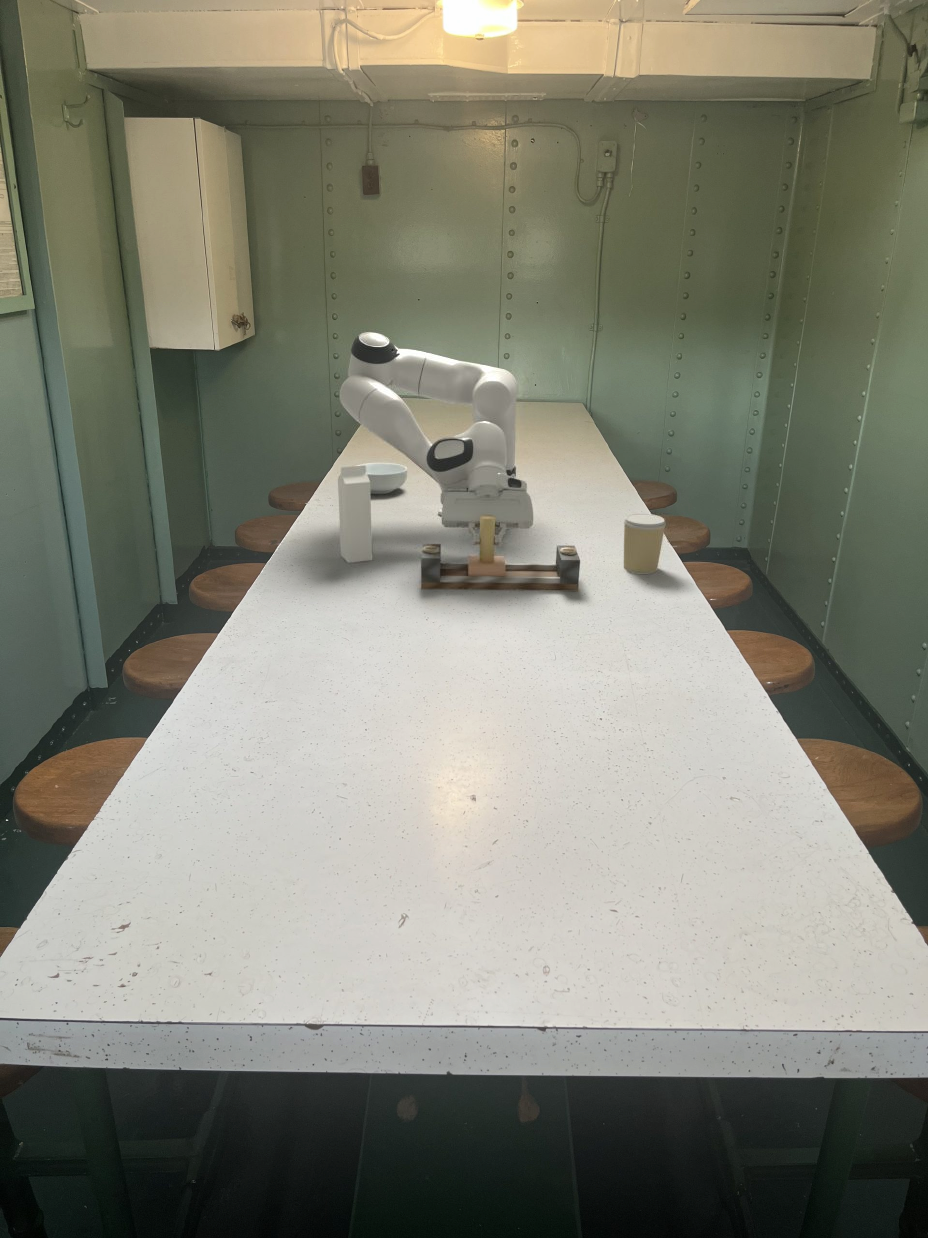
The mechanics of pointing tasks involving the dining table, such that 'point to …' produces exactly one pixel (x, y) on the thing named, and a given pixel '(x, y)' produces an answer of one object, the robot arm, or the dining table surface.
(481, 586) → the rail track
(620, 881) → the dining table surface
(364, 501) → the milk
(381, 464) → the cereal bowl
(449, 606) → the dining table surface
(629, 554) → the coffee cup
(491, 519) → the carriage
